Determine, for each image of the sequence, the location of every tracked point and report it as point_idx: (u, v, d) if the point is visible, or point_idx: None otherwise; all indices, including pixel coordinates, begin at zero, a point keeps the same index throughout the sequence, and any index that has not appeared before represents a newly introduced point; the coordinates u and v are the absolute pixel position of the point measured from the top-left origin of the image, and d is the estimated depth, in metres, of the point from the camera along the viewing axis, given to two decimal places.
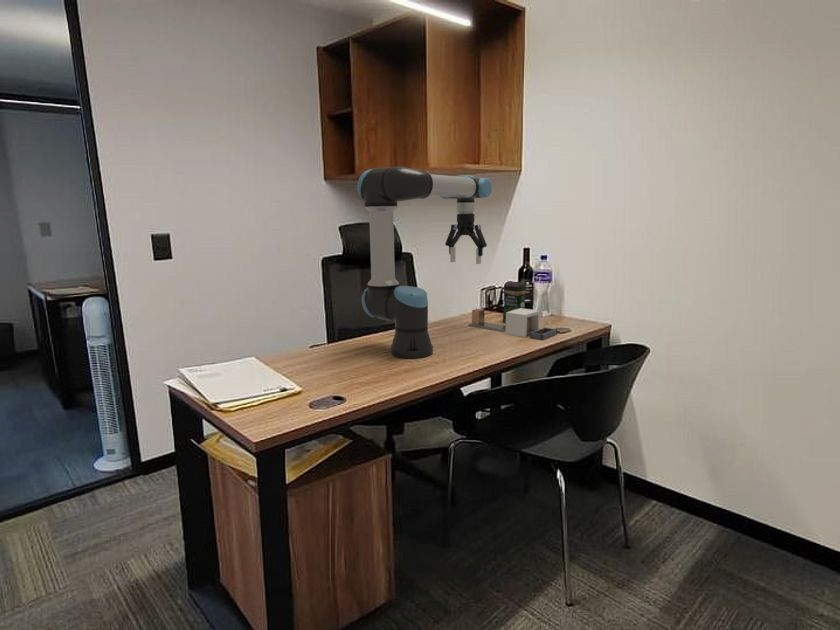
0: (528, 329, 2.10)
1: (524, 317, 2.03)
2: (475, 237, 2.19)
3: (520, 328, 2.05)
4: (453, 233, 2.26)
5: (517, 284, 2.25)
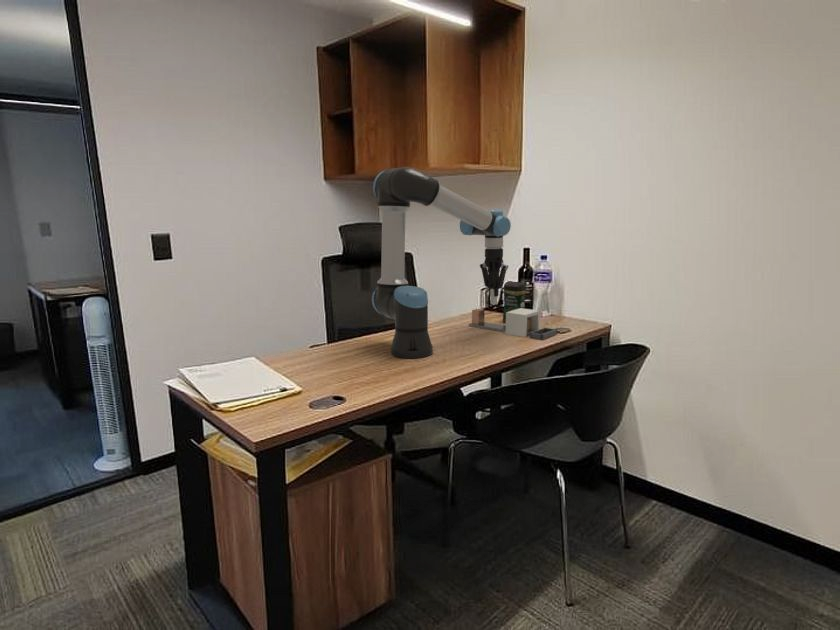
0: (528, 329, 2.10)
1: (524, 317, 2.03)
2: (497, 276, 2.15)
3: (520, 328, 2.05)
4: (486, 271, 2.19)
5: (517, 284, 2.25)
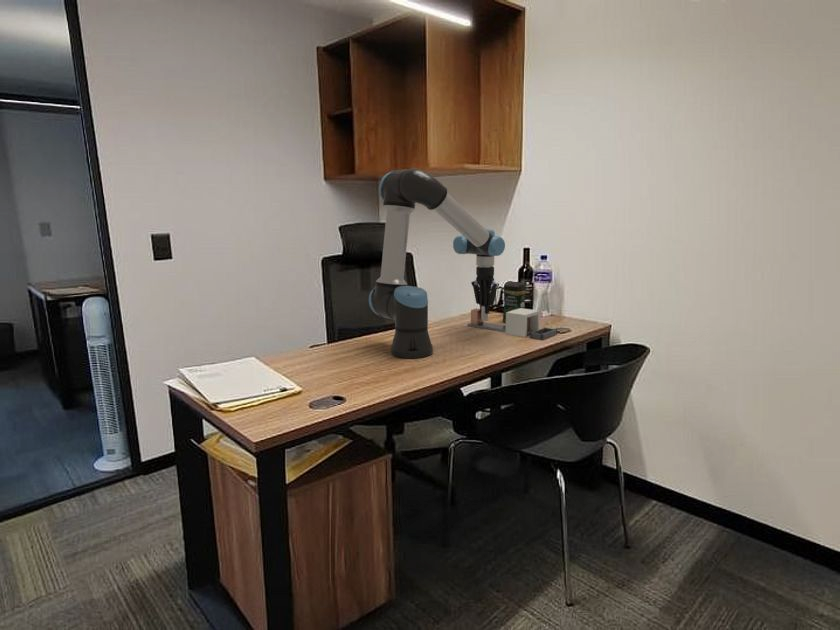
0: (527, 329, 2.10)
1: (524, 317, 2.03)
2: (488, 294, 2.20)
3: (520, 328, 2.05)
4: (477, 289, 2.23)
5: (517, 284, 2.25)
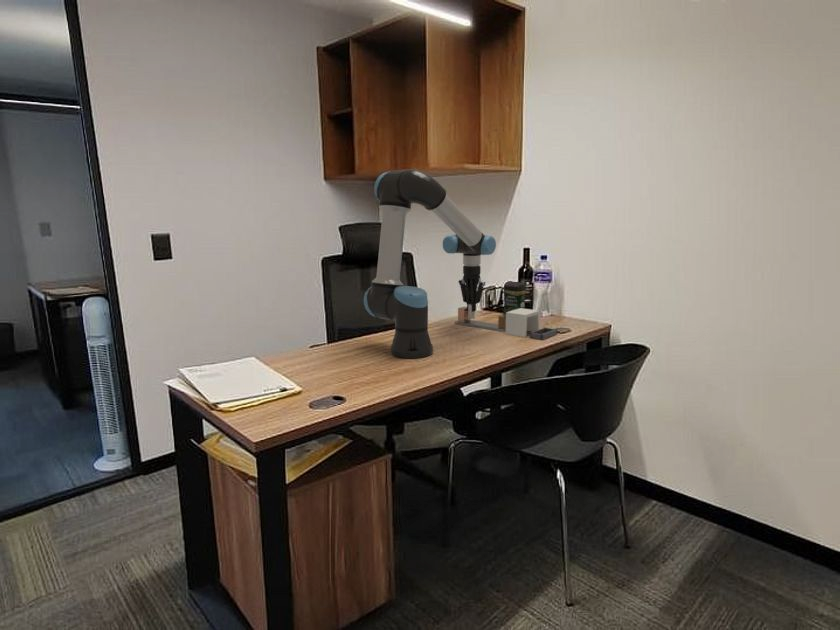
0: None
1: (524, 317, 2.03)
2: (475, 292, 2.24)
3: (520, 328, 2.05)
4: (464, 287, 2.28)
5: (517, 284, 2.25)
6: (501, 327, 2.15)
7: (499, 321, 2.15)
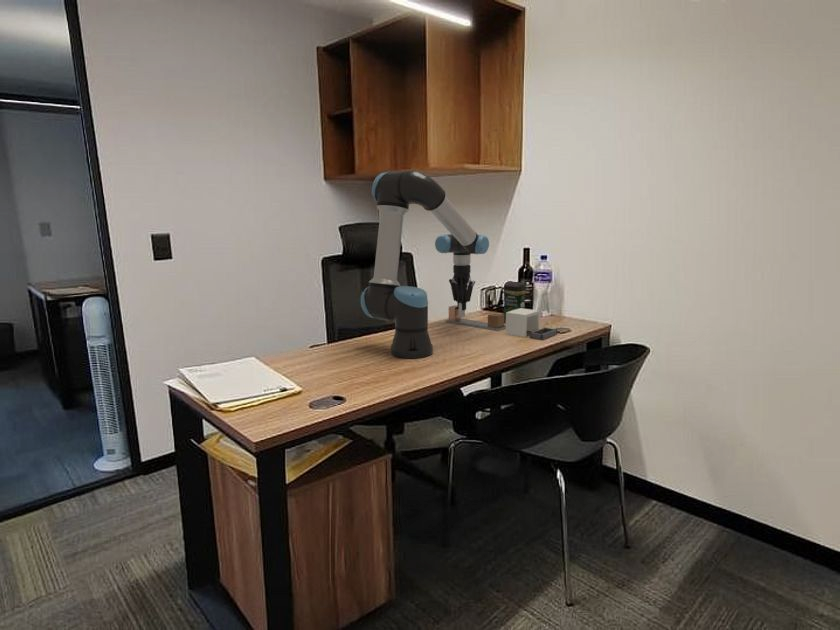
0: (501, 325, 2.18)
1: (524, 317, 2.03)
2: (465, 291, 2.27)
3: (520, 328, 2.05)
4: (455, 286, 2.31)
5: (517, 284, 2.25)
6: (490, 325, 2.18)
7: (488, 319, 2.19)
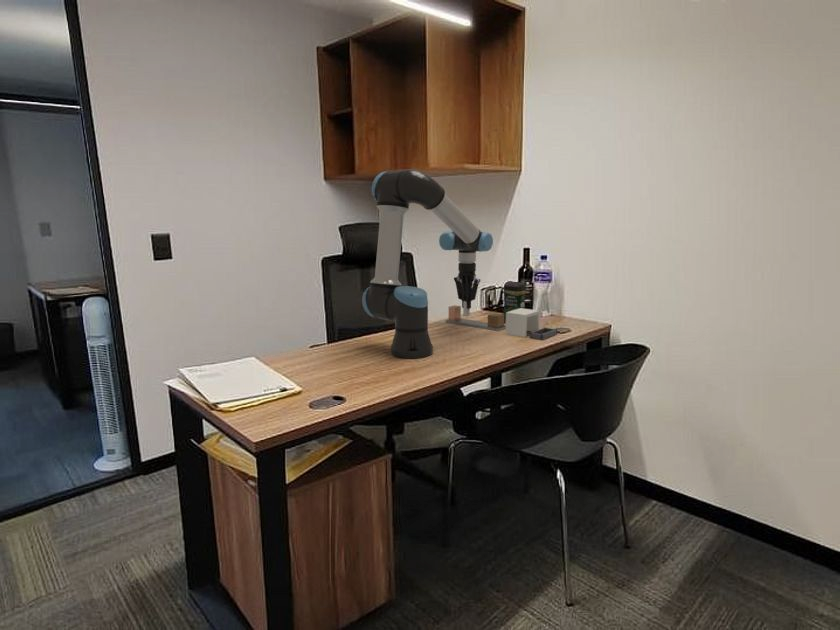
0: (501, 325, 2.18)
1: (524, 317, 2.03)
2: (470, 289, 2.25)
3: (520, 328, 2.05)
4: (459, 285, 2.29)
5: (517, 284, 2.25)
6: (490, 325, 2.18)
7: (488, 319, 2.19)
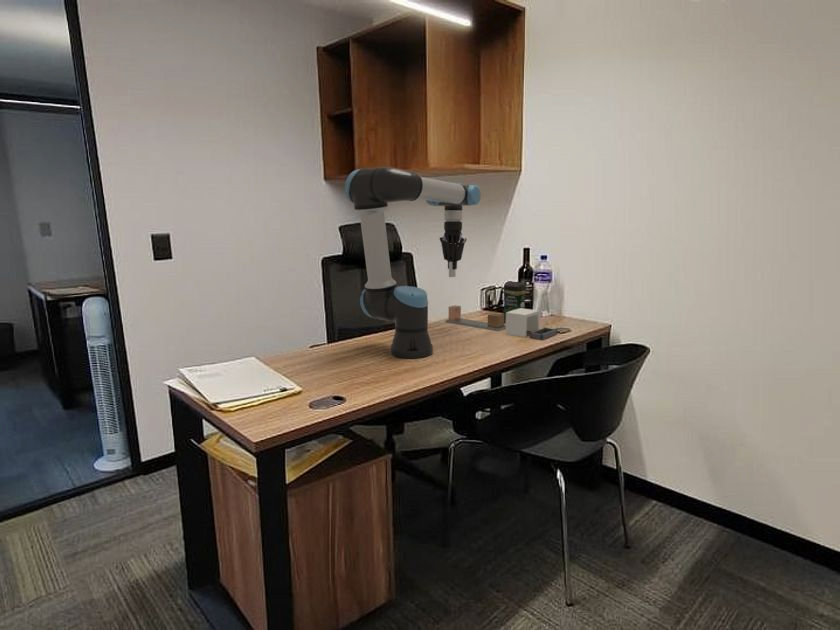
0: (501, 325, 2.18)
1: (524, 317, 2.03)
2: (456, 249, 2.18)
3: (520, 328, 2.05)
4: (445, 245, 2.21)
5: (517, 284, 2.25)
6: (490, 325, 2.18)
7: (488, 319, 2.19)
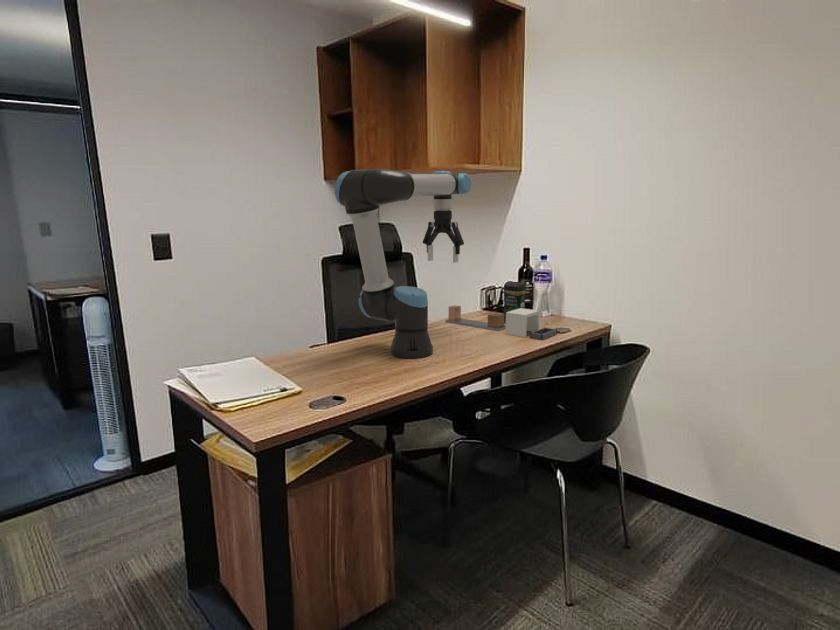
0: (501, 325, 2.18)
1: (524, 317, 2.03)
2: (452, 235, 2.12)
3: (520, 328, 2.05)
4: (430, 231, 2.20)
5: (517, 284, 2.25)
6: (490, 325, 2.18)
7: (488, 319, 2.19)
